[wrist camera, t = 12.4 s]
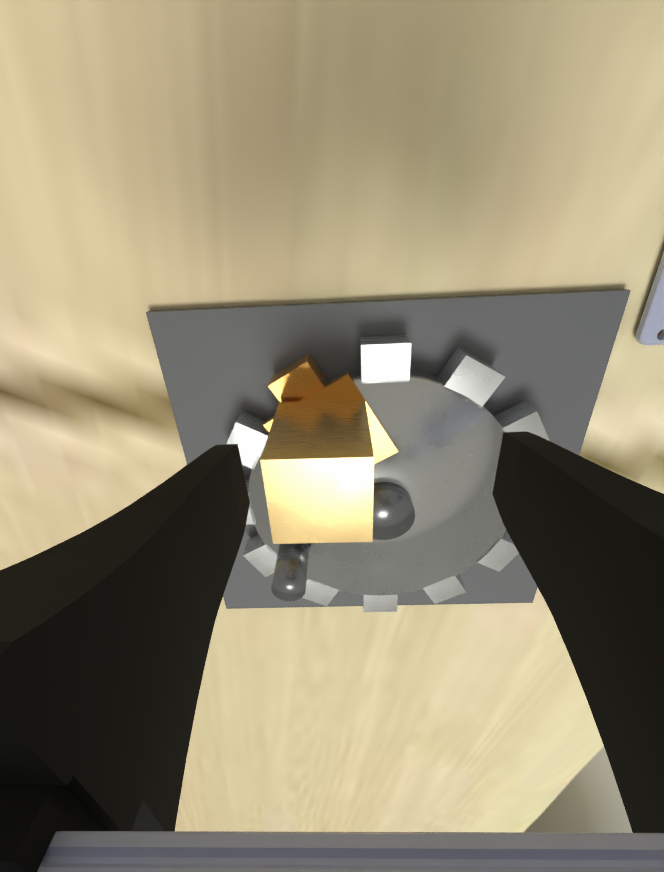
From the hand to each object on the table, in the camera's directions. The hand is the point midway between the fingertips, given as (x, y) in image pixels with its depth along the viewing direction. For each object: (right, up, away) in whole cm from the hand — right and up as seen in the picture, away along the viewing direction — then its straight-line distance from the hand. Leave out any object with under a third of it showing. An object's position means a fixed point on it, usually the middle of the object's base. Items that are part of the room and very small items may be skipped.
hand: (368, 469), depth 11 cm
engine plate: (+2, -2, +12) cm, 13 cm away
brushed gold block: (-1, +1, +8) cm, 8 cm away
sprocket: (+2, -2, +12) cm, 13 cm away
